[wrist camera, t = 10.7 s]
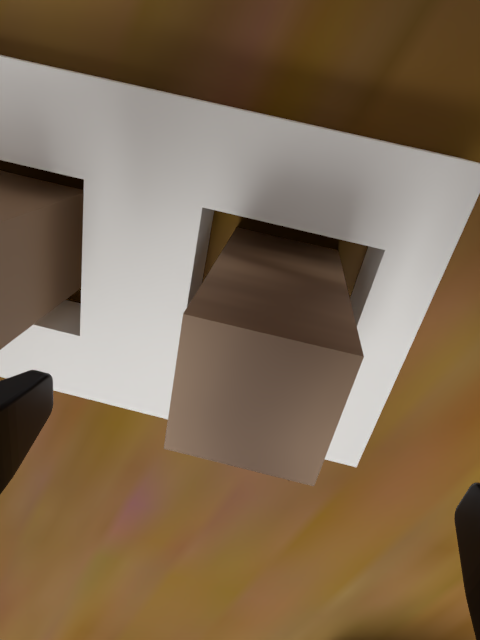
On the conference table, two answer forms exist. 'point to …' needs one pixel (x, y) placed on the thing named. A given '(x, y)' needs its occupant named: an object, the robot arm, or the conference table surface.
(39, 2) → the conference table surface
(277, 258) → the beige rectangular block
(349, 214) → the white block with holes
